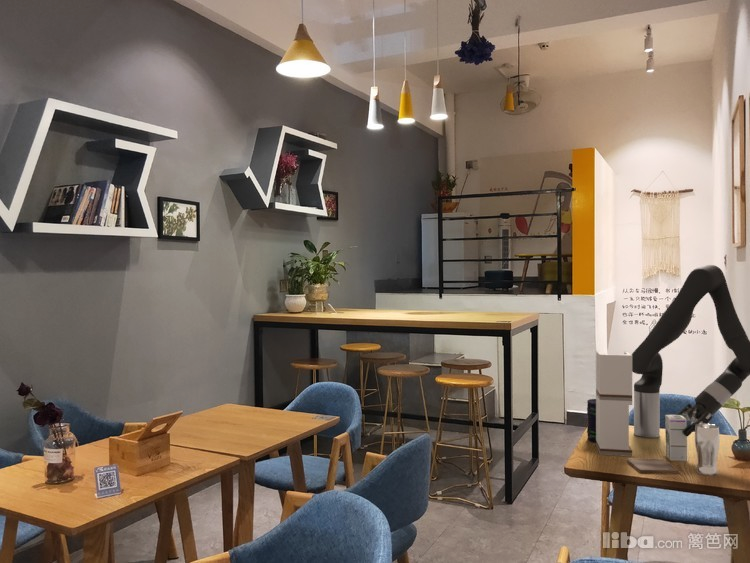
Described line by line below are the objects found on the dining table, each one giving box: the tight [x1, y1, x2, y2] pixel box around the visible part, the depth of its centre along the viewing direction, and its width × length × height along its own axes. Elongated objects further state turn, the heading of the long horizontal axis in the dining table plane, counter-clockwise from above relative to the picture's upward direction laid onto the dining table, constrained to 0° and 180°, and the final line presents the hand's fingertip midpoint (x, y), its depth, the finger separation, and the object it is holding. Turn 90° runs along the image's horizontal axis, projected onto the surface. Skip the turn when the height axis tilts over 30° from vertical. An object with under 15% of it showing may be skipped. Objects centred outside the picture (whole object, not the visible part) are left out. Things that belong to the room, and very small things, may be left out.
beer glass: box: [694, 422, 720, 477], centre depth 196 cm, size 7×7×15 cm
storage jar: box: [586, 398, 596, 444], centre depth 234 cm, size 10×10×15 cm
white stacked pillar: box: [595, 350, 633, 457], centre depth 221 cm, size 11×11×35 cm
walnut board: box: [626, 458, 680, 474], centre depth 202 cm, size 12×12×1 cm
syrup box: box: [664, 414, 688, 462], centre depth 211 cm, size 6×6×14 cm
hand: (678, 431), depth 211 cm, fingers open, 8 cm apart
